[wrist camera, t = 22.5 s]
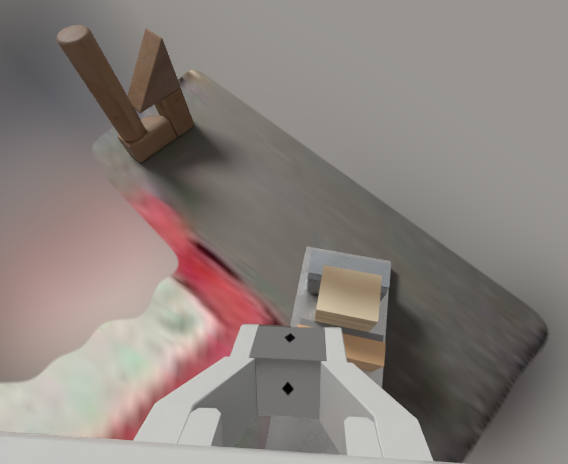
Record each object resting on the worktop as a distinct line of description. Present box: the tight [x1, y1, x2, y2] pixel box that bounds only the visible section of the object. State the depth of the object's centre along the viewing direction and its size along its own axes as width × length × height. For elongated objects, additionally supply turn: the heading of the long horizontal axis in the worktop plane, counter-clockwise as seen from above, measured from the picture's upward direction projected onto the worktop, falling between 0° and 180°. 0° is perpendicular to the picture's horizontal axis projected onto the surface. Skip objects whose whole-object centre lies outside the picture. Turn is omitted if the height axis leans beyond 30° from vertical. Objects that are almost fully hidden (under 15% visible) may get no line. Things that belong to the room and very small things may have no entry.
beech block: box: [314, 265, 382, 332], centre depth 31 cm, size 4×5×9 cm
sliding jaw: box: [297, 318, 386, 371], centre depth 31 cm, size 3×8×5 cm, turn 77°
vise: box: [265, 247, 391, 455], centre depth 32 cm, size 22×10×6 cm, turn 168°
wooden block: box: [57, 25, 194, 163], centre depth 43 cm, size 4×11×18 cm, turn 137°
